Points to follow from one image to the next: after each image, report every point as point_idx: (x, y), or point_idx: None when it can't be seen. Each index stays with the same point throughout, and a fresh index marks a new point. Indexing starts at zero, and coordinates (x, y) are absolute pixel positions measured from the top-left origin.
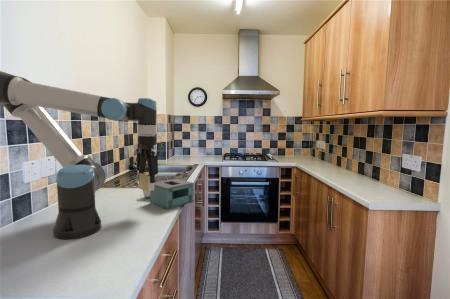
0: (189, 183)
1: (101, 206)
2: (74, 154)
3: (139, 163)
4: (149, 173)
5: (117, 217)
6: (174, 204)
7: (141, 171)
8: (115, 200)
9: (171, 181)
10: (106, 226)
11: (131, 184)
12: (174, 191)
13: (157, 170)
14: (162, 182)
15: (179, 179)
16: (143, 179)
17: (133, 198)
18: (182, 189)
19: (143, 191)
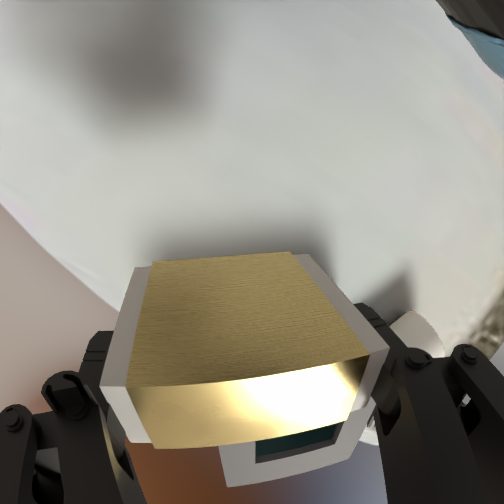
0: (226, 479)
1: (443, 128)
2: None
3: (492, 442)
4: (83, 421)
5: (271, 84)
6: None
7: (390, 385)
8: (460, 206)
9: (332, 443)
10: (192, 5)
11: (501, 317)
12: None
13: (34, 488)
14: (349, 415)
15: (325, 465)
16: (249, 318)
17: (432, 271)
18: (286, 439)
19: (421, 318)
